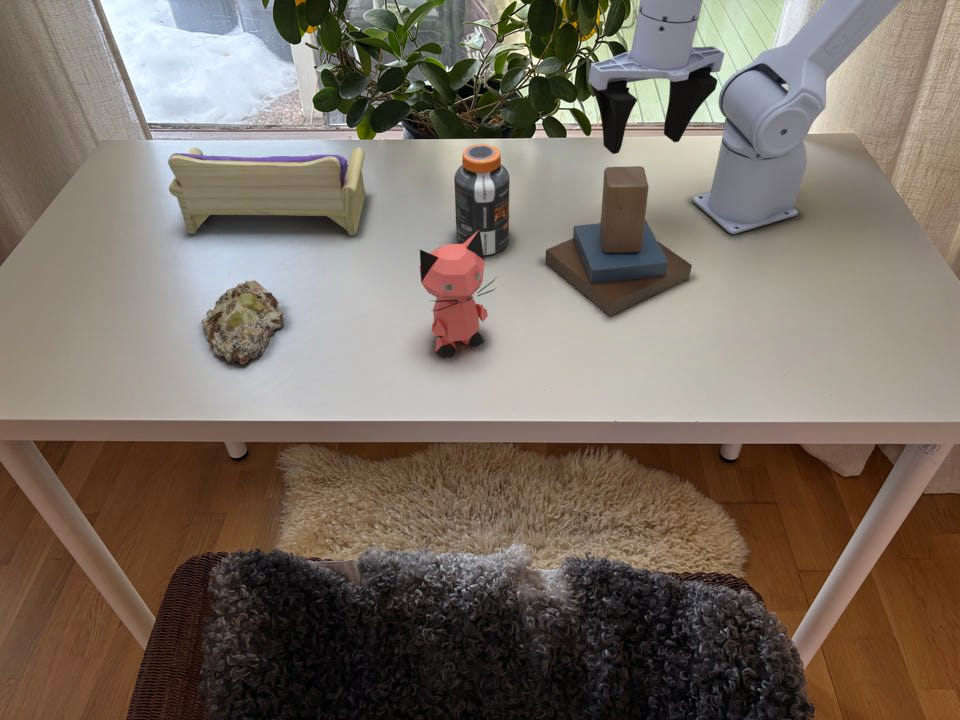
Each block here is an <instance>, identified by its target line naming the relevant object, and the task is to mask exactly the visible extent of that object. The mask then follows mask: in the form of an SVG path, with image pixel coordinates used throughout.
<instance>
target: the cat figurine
mask: <svg viewBox="0 0 960 720" xmlns="http://www.w3.org/2000/svg"><path fill="white" fill-rule="evenodd" d="M485 262H486V260H485V255H484V253H483V247H482V241H481V235H480V230H478V231H477V232H476V233H475V234H474V235H472V236H471V237H470V238H469V239H468V240H467V241H465V242H464V243H463V244H458V243H449V244H444V245H441V246H438V247H437V248H435V249H434V250H433V251H431V252H427V251H424V250H422V249H419V264H420V265H419V273H420V283H421V285H422V287H424V289H425V290H426V292H427V293H428V294H430V295H432V296H433V297H435V298H436V299H435V300H433V299H431V300H428V301H429V302H434V305H433V308H432V313H433V323H432V325H431V332H432V334H433V336H434V337H437V338H436V341H435V354H437V355H438V356H439V357H441V358H443V359H445V358H452V357H453V356H454V355H455V353H456V351H457V347H456V344H455V342H460V341H461V342H462V343H463V344H465V345H466V346H470V347H479V346H481V345H483V343H485V341H484V337H483V334H482V333H480V332H479V331H480V321H481V322H485V320H486V319H487V318H488V317H489V315H488V310H487V308H485V307H484V305H483V304H480V303H476V301H475V299H474V297H475V293H476V294H477V295H476V296H477V297H480V296H482V295H485V294H489V293H491V292H493V291H495V289H497V288H498V286H497V287H495V288H493V289H491V290H488V291H485V292H483V293H481V292H482V291H484V290H485V288H487V287H488V286H490V285H491V284H492V283H494V281H495V280H496V278H494V279H493V280H492V281H491V282H489V283H488V284H486V285H485V286H484V287H483V288H481V289H480V287H481V286H482V283H483V281H484V271H485ZM497 276H498V275H496V277H497ZM479 289H480V290H479Z"/></svg>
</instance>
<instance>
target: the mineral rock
mask: <svg viewBox="0 0 960 720" xmlns="http://www.w3.org/2000/svg"><path fill="white" fill-rule="evenodd" d="M205 315H207V316H206V317H205V318H202V320H201V325H203V328H204V331H205V335H206V336H205V337H206V338H207V340H208V343H209V344H210V345H212V346H213V348H212V351H213V353H214V354H215V355H217V356H218V357H224V358H225V360H227V362H228V363H229V362H230V363H233V362H237V363H239V364H240V365H241V366H244V365H246V364H247V363H248V362H249V360H251V359H256V358H259V357H260V356H261V355H263V353H264V352H265V349H266V348H268V346H269V344H270V339H271V335H273V333H274V332H275V331H276V330H280V328H281V327H282V325H283V324H284V321H285V319H284V316H283V315H284V313H283V312H282V311H281V309H280V308H279V300H278V299H277V298H276V297H275V296H274V294H273V293H272V292H269V290H267V288H265V287H264V286H263V285H261V284H260V283H259V282H258V281H256V280H245V281H244V283H243V282H241V283H238V284H237V285H236V286H235V287H232V288H228V289H226V291H225V292H224V293H223V294H222V295H220V296H219V297H218V299H216V301H215V306H214V308H213V309H210V308H209V309H208V310H207V311H206V314H205Z"/></svg>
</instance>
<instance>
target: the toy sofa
mask: <svg viewBox="0 0 960 720" xmlns="http://www.w3.org/2000/svg"><path fill="white" fill-rule="evenodd" d="M365 156H366V153H365V150H364V149H363V148H362V147H359V146H358V147H354V148H353V149H352V151H351V154H350V156H349V157H350V158H349V161H348V159H346V158H345V157H344V156H342V155H339V154H312V155H300V156H297V155H296V156H291V155H272V156H264V157H263V156H262V157H251V156H249V157H248V156H247V157H245V156H227V155H204V153H203V151H202V150H201V149H200V148H198V147H195V146H194V147H191V148H190V149H189V151H188V152H187V153H183V152H179V153H178V152H175V153H172V154H171V155H170V156H169V158H168V162H167V164H168V166H169V168H170V170H171V172H172V174H173V176H174V177H173V179H172V180H171V182H170V184H169V186H168V191H169V193H170V194H171V195H172V196H174V197H176V199H177V202H178V206H179V208H180V212H181V215H182V218H183V221H184V224H185V227H186V231H187V233H188V234H190V235H194V234H196V233H197V231H198V230H199V228H200V227H201V226H202V225H203V223H204V222H205V221H207V218H209V216H225V215H226V216H235V215H236V216H307V217H308V216H309V217H311V216H312V217H327V218H329V219H330V220H332V221H333V222H335V223H336V224H337V225H339V226H340V227H341V228H343V229H344V230H345V231H346V232H347V234H348V235H349V236H350V237H355V236H356V235H357V233H358V231H359V227H360V222H361V219H362V214H363V209H364V204H365V199H366V189H365V183H364V178H363V176H364V175H363V171H362V170H363V164H364V161H365Z"/></svg>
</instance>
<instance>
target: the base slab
mask: <svg viewBox="0 0 960 720" xmlns="http://www.w3.org/2000/svg"><path fill="white" fill-rule="evenodd" d="M657 242H658V244H659V246H660V248H661V249H662V251H663V253H664V255H665V257H666V259H667V261H668V266H667V272H666V276H661V277H651V278H642V279H633V280H624V281H614V282H605V283H596V284H590V281H589V279H588V276H587V274H586V271H585V269H584V266H583V264H582V261H581V258H580V256H579V253H578V251H577V248H576V246H575V243H574V241H573V237H572V238H570V239H568V240H566V241H563V242H561V243H558V244H556V245H554V246H552V247H549V248H547V249H545V258H544V259H545V261H544V262H545V264H546V265H547V266H548V267H550V268H551V269H552V270H553V271H555V272H556V273H557V274H558V275H559V276H560V277H562V278H563V279H564V280H565V281H566V282H568V283H569V284H570V285H571V286H572V287H574V289H576V290H577V291H579V292H580V293H581V294H582V295H584V296H585V297H586V298H587V299H588V300H589V301H591V303H593V304H594V305H596V306H597V307H598V308H599V309H600V310H601V311H603V312H604V313H605V314H606V315H608V316H609V317H612V316H615V315H616V314H619V313H621V312H623V311H625V310H626V309H629V308H631V307H633V306H635V305H636V304H640V303H642V302H643V301H646V300H648V299H650V298H652V297H653V296H656V295H658V294H660V293H662V292H664V291H666V290H668V289H671V288H672V287H674V286H676V285H679V284H680V283H683V282H685V281H687V280H689V279H690V277H691V272H692V266H693V264H691V263H690V262H688V261H687V260H685V259H684V258H683V257H682V256H680V255H679V254H677V253H675V251H672V249H670V248H668V247H667V246H665V245H664V244H663V243H661V242H660V241H659V240H657Z"/></svg>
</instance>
